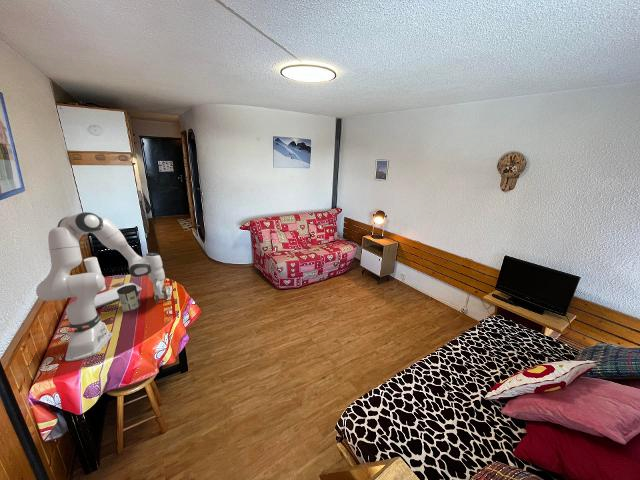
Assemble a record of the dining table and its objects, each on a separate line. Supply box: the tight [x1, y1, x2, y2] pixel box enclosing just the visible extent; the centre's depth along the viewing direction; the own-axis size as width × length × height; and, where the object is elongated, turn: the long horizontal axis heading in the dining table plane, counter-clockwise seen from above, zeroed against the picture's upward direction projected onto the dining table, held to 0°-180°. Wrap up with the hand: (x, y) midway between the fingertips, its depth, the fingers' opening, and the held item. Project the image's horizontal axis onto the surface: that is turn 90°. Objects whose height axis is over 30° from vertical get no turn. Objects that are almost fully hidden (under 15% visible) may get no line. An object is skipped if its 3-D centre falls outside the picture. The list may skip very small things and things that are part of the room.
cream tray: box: [153, 285, 173, 301], centre depth 186 cm, size 12×10×3 cm
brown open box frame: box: [153, 285, 169, 305], centre depth 176 cm, size 6×6×10 cm
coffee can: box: [117, 285, 142, 313], centre depth 169 cm, size 10×10×14 cm
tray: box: [94, 282, 143, 309], centre depth 182 cm, size 17×31×4 cm, turn 146°
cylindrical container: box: [83, 256, 107, 293], centre depth 189 cm, size 7×7×25 cm
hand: (161, 294), depth 176 cm, fingers open, 8 cm apart
